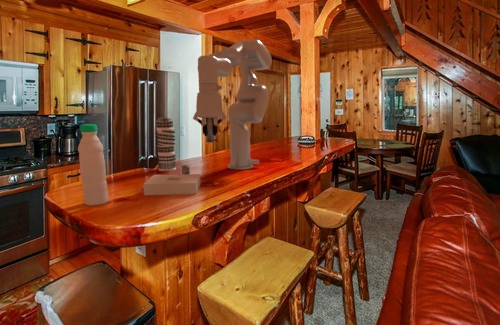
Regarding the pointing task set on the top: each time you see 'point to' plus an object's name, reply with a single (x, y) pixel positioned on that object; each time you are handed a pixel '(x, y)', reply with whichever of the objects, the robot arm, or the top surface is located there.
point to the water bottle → (92, 166)
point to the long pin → (210, 129)
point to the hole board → (172, 184)
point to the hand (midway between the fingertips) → (210, 135)
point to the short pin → (185, 169)
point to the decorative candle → (165, 144)
